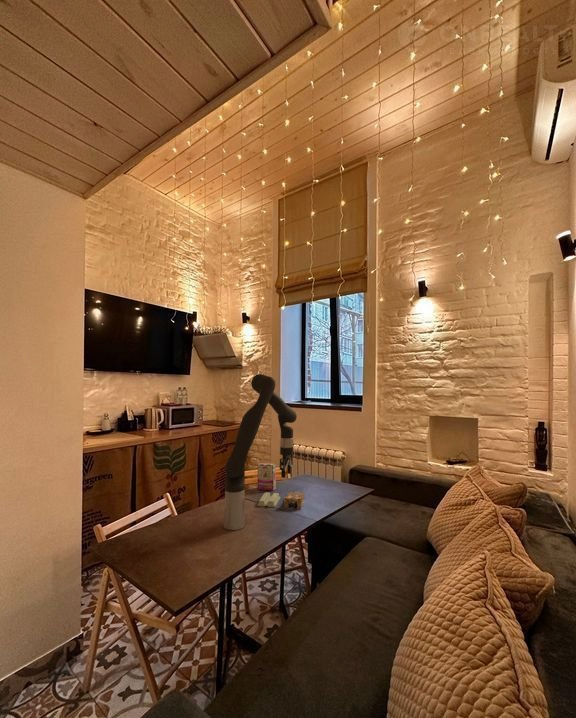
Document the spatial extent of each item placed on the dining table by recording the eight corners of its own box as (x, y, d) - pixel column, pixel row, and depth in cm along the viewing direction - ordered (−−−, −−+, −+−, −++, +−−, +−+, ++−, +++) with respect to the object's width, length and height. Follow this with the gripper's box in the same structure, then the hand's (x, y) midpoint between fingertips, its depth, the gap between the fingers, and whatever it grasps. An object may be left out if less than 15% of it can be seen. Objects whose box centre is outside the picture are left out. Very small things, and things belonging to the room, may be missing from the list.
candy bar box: (276, 488, 214) (275, 463, 215) (273, 491, 209) (273, 465, 210) (260, 487, 217) (260, 462, 218) (257, 489, 212) (257, 464, 214)
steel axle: (297, 506, 183) (296, 499, 184) (290, 506, 184) (289, 499, 184) (300, 497, 197) (299, 490, 198) (294, 498, 198) (293, 491, 198)
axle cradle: (257, 506, 184) (257, 500, 185) (263, 497, 198) (263, 492, 198) (275, 507, 183) (275, 501, 183) (280, 498, 196) (280, 493, 197)
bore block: (284, 508, 181) (284, 497, 181) (289, 498, 196) (289, 488, 197) (300, 509, 179) (300, 498, 179) (304, 499, 195) (304, 489, 195)
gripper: (285, 443, 192) (284, 471, 191) (275, 447, 179) (275, 477, 177) (297, 444, 189) (296, 473, 188) (288, 448, 176) (288, 479, 175)
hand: (286, 475), depth 183 cm, fingers open, 8 cm apart
